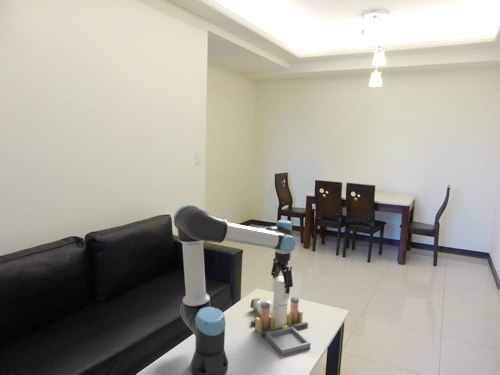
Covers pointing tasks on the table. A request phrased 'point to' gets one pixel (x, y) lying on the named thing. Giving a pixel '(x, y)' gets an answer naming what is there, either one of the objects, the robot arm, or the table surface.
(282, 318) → the cylindrical container
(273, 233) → the robot arm
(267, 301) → the potion bottle
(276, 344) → the tray
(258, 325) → the fuse holder
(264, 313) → the cylinder
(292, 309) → the fuse
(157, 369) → the table surface
